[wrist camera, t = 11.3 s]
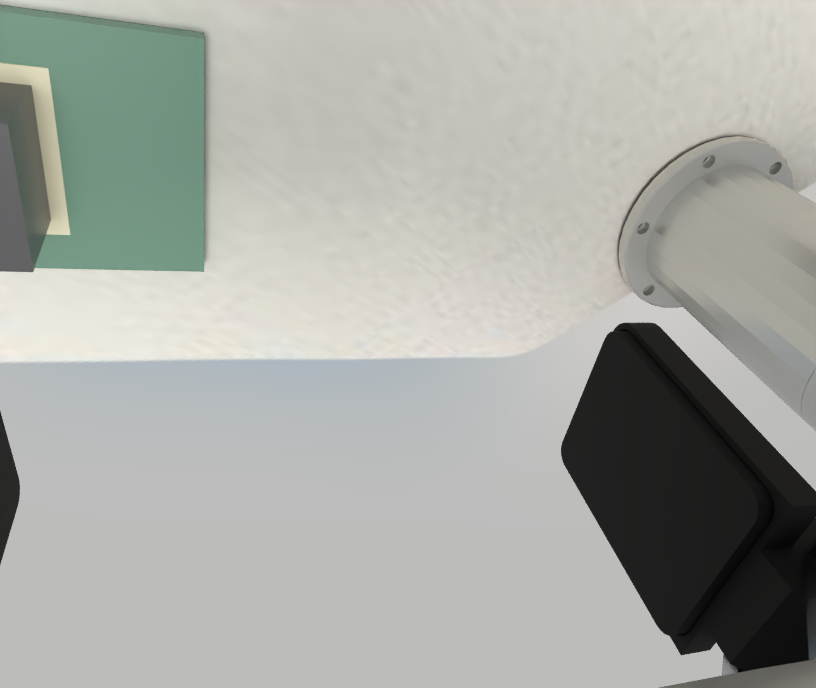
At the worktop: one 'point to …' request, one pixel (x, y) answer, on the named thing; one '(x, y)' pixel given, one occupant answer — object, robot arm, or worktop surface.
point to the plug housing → (21, 181)
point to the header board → (114, 137)
